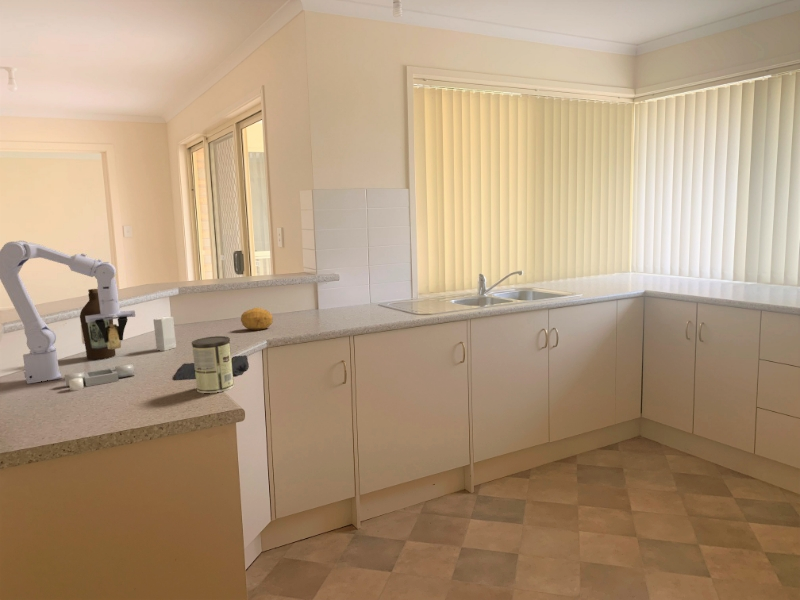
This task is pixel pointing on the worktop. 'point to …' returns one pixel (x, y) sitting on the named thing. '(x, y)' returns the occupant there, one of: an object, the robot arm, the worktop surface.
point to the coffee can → (213, 364)
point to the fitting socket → (102, 375)
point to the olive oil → (94, 329)
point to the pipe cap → (76, 384)
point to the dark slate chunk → (188, 373)
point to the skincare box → (164, 333)
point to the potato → (256, 319)
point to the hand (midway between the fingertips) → (113, 341)
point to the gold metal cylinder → (113, 336)
